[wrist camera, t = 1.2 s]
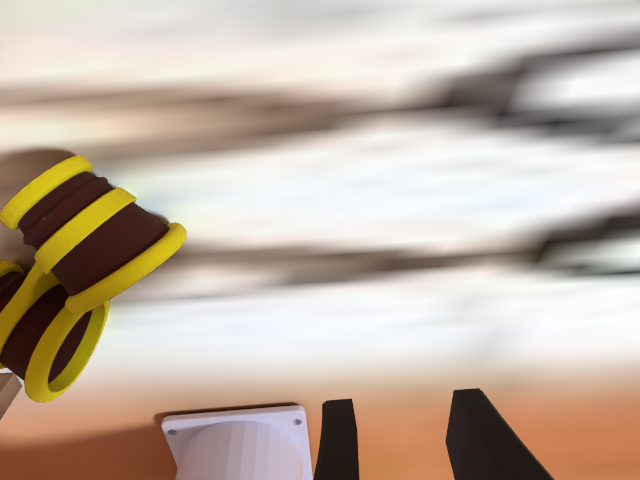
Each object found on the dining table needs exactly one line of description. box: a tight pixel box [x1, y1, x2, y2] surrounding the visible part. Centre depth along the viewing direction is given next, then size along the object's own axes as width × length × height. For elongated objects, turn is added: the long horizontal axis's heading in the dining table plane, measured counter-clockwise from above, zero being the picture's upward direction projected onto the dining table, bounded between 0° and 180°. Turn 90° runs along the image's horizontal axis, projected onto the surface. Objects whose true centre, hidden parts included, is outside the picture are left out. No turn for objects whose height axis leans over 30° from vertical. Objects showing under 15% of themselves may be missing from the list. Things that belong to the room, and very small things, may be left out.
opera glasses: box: [0, 155, 186, 403], centre depth 17 cm, size 10×5×5 cm, turn 140°
